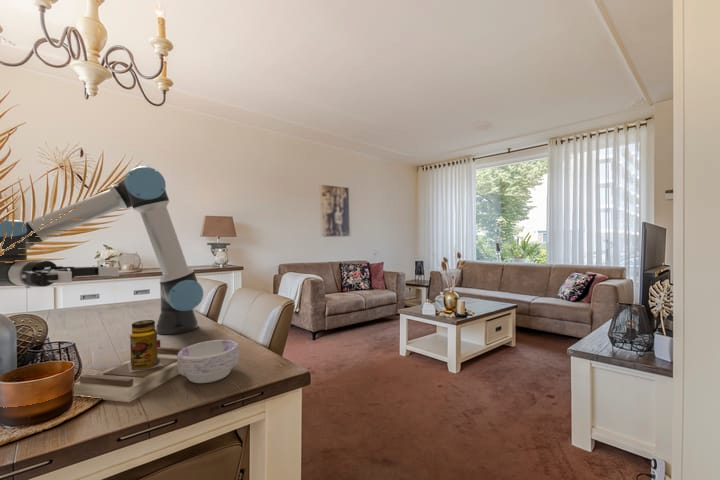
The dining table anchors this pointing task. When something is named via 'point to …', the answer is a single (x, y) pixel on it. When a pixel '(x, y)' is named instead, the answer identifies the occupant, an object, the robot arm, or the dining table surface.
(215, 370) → the paper bowls
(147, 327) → the condiment
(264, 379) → the dining table surface
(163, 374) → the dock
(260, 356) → the dining table surface
